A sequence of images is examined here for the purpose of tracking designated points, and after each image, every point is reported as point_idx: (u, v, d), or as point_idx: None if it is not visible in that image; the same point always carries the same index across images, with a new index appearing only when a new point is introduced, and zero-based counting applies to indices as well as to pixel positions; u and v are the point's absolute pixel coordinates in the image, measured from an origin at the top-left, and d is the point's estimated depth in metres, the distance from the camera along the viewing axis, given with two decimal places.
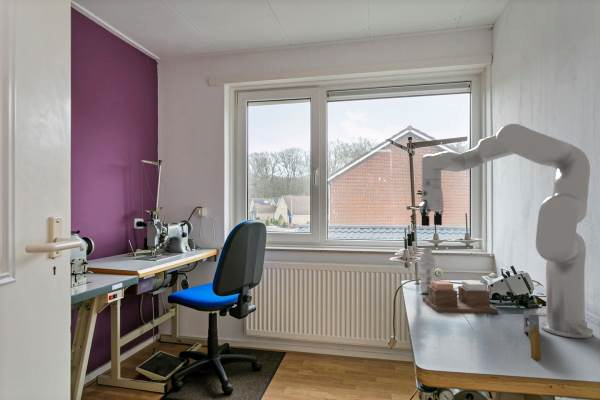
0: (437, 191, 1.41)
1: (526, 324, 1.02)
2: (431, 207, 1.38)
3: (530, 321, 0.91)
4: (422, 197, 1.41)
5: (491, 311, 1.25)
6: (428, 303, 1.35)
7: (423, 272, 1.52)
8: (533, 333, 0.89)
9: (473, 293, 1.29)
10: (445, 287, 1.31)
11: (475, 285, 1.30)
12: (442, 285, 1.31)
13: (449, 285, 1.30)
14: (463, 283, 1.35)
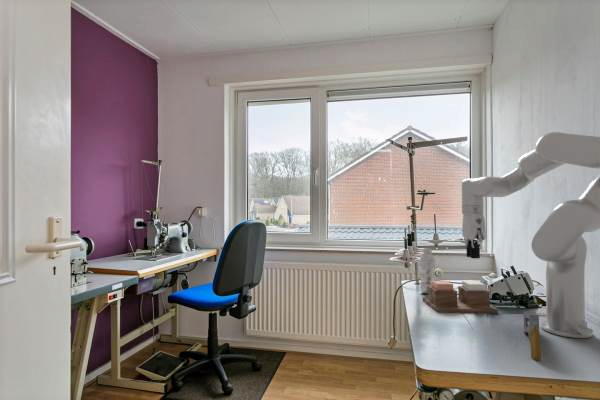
0: None
1: (526, 324, 1.02)
2: None
3: (530, 321, 0.91)
4: (475, 225, 1.29)
5: (491, 311, 1.25)
6: (428, 303, 1.35)
7: (423, 272, 1.52)
8: (533, 333, 0.89)
9: (473, 293, 1.29)
10: (445, 287, 1.31)
11: (475, 285, 1.30)
12: (442, 285, 1.31)
13: (449, 285, 1.30)
14: (463, 283, 1.35)
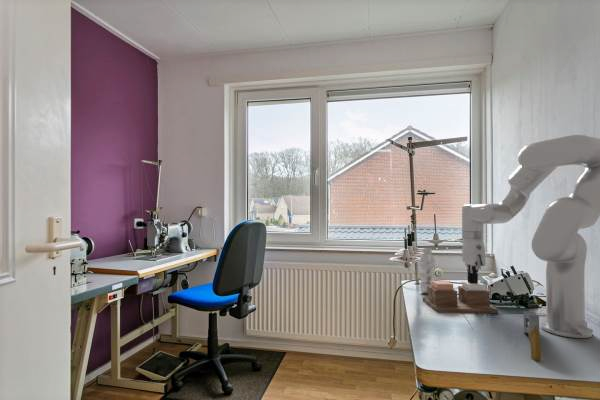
0: None
1: (526, 325, 1.02)
2: (485, 262, 1.29)
3: (530, 322, 0.91)
4: (475, 251, 1.29)
5: (491, 311, 1.25)
6: (428, 303, 1.35)
7: (423, 272, 1.52)
8: (533, 334, 0.89)
9: (473, 293, 1.29)
10: (445, 287, 1.31)
11: (475, 285, 1.30)
12: (442, 285, 1.31)
13: (449, 285, 1.30)
14: (463, 283, 1.35)
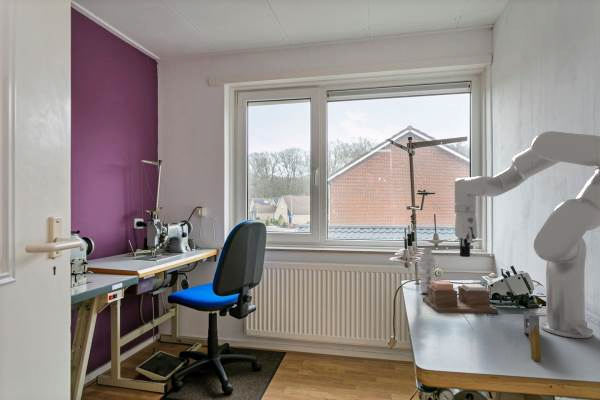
0: None
1: (526, 325, 1.01)
2: None
3: (530, 322, 0.90)
4: (466, 224, 1.29)
5: (491, 311, 1.25)
6: (428, 303, 1.35)
7: (423, 272, 1.52)
8: (533, 334, 0.88)
9: (473, 293, 1.29)
10: (445, 287, 1.31)
11: (475, 288, 1.30)
12: (442, 285, 1.31)
13: (449, 285, 1.30)
14: (463, 286, 1.35)
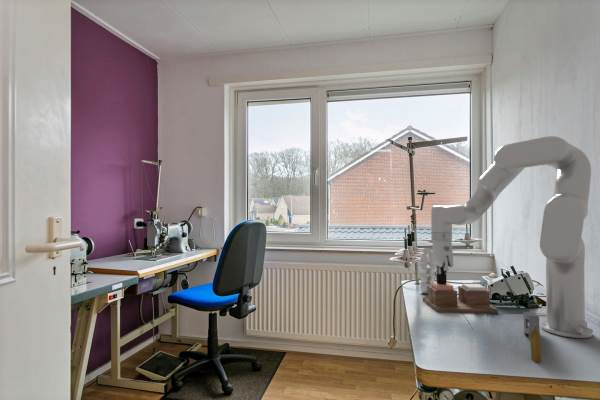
0: None
1: (526, 325, 1.01)
2: (452, 263, 1.29)
3: (530, 323, 0.90)
4: (442, 252, 1.29)
5: (491, 311, 1.25)
6: (428, 303, 1.35)
7: (423, 272, 1.52)
8: (533, 335, 0.88)
9: (473, 293, 1.29)
10: (445, 288, 1.31)
11: (475, 288, 1.30)
12: (442, 287, 1.31)
13: (449, 287, 1.30)
14: (463, 286, 1.35)
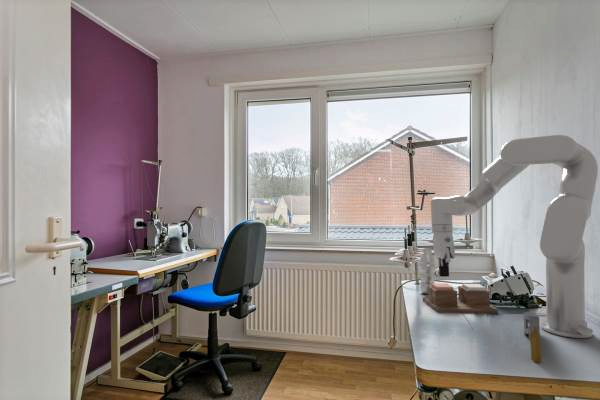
0: None
1: (526, 326, 1.01)
2: (454, 254, 1.29)
3: (530, 323, 0.90)
4: (444, 244, 1.29)
5: (491, 311, 1.25)
6: (428, 303, 1.35)
7: (423, 272, 1.52)
8: (533, 335, 0.88)
9: (473, 293, 1.29)
10: None
11: (475, 288, 1.30)
12: (442, 288, 1.31)
13: (449, 288, 1.30)
14: (463, 286, 1.35)
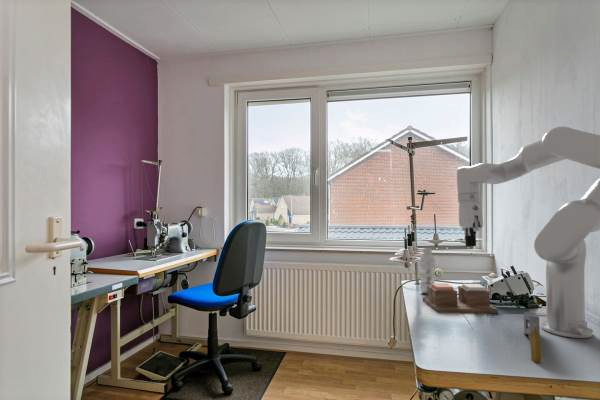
0: None
1: (526, 326, 1.01)
2: (482, 223, 1.27)
3: (530, 323, 0.90)
4: (472, 212, 1.27)
5: (491, 311, 1.25)
6: (428, 303, 1.35)
7: (423, 272, 1.52)
8: (533, 335, 0.88)
9: (473, 293, 1.29)
10: None
11: (475, 288, 1.30)
12: (442, 288, 1.31)
13: (449, 288, 1.30)
14: (463, 286, 1.35)
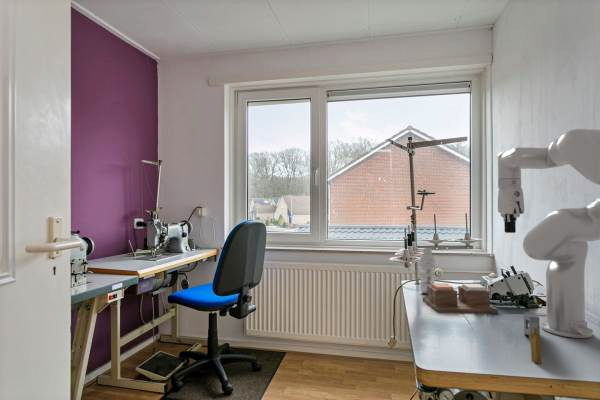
0: None
1: (526, 326, 1.00)
2: None
3: (530, 323, 0.89)
4: (513, 198, 1.25)
5: (491, 311, 1.25)
6: (428, 303, 1.35)
7: (423, 272, 1.52)
8: (533, 336, 0.87)
9: (473, 293, 1.29)
10: None
11: (475, 288, 1.30)
12: (442, 288, 1.31)
13: (449, 288, 1.30)
14: (463, 286, 1.35)
